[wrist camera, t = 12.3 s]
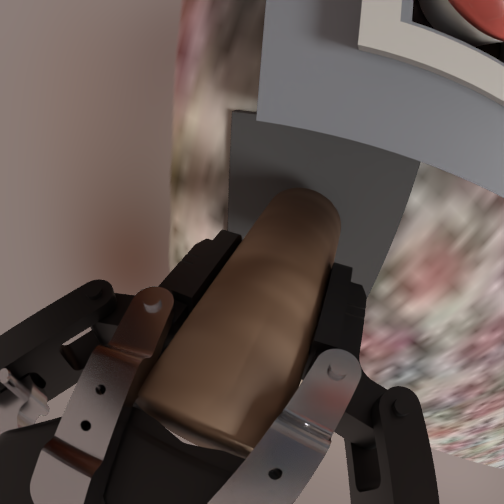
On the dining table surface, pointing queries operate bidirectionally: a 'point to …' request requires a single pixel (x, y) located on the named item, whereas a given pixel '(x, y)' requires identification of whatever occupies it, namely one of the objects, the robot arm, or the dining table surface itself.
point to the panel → (384, 84)
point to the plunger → (467, 19)
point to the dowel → (249, 330)
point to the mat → (321, 185)
